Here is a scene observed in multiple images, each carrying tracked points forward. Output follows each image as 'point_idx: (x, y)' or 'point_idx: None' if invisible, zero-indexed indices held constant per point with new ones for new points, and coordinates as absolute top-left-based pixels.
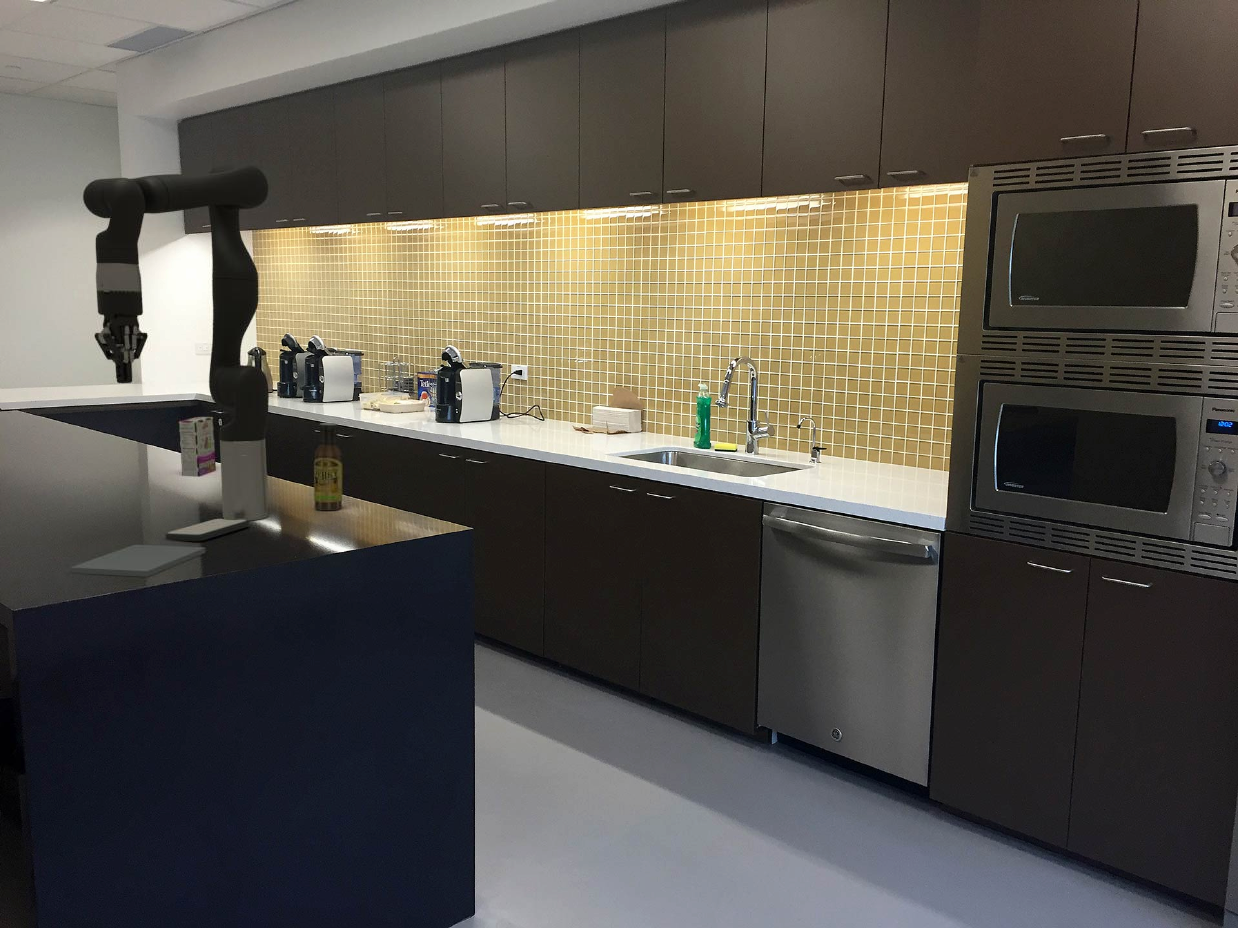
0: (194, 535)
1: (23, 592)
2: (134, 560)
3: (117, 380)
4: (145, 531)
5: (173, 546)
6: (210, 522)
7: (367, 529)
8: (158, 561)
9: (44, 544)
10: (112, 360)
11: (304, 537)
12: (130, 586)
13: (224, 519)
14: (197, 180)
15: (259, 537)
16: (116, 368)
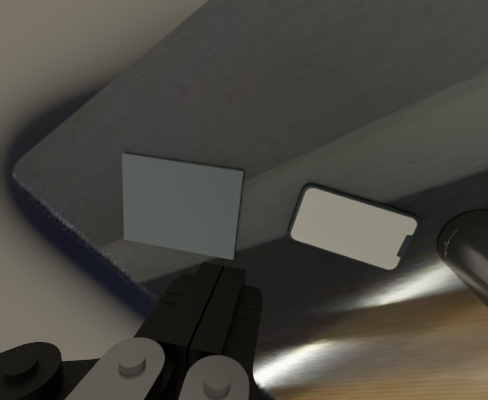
0: (288, 231)
1: (53, 146)
2: (163, 208)
3: (201, 267)
4: (371, 126)
5: (235, 223)
6: (384, 222)
7: (370, 392)
8: (162, 234)
9: (271, 13)
10: (73, 362)
11: (323, 337)
12: (95, 234)
13: (409, 234)
14: None
15: (323, 291)
16: (145, 324)
